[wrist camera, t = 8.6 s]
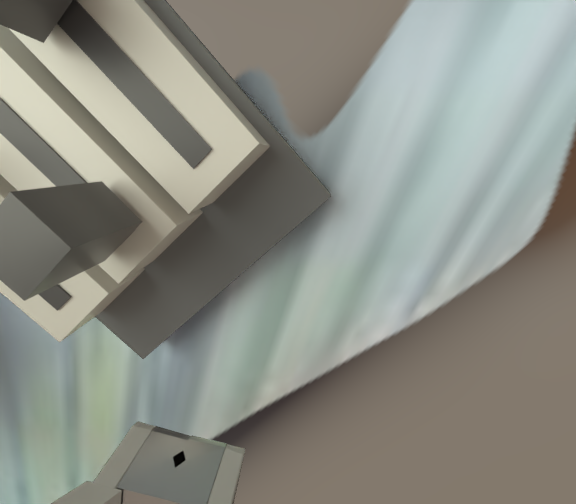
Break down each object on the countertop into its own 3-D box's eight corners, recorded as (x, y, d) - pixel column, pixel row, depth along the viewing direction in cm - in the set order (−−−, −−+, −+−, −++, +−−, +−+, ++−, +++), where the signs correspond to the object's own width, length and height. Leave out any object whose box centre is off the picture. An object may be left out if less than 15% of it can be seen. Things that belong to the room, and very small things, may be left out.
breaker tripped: (105, 260, 12) (24, 300, 9) (65, 223, 12) (-35, 250, 8) (142, 221, 12) (71, 248, 8) (101, 181, 11) (9, 191, 8)
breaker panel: (159, 339, 20) (109, 399, 15) (-72, 128, 17) (-230, 116, 12) (329, 191, 16) (336, 206, 11) (73, -108, 13) (-66, -263, 8)
